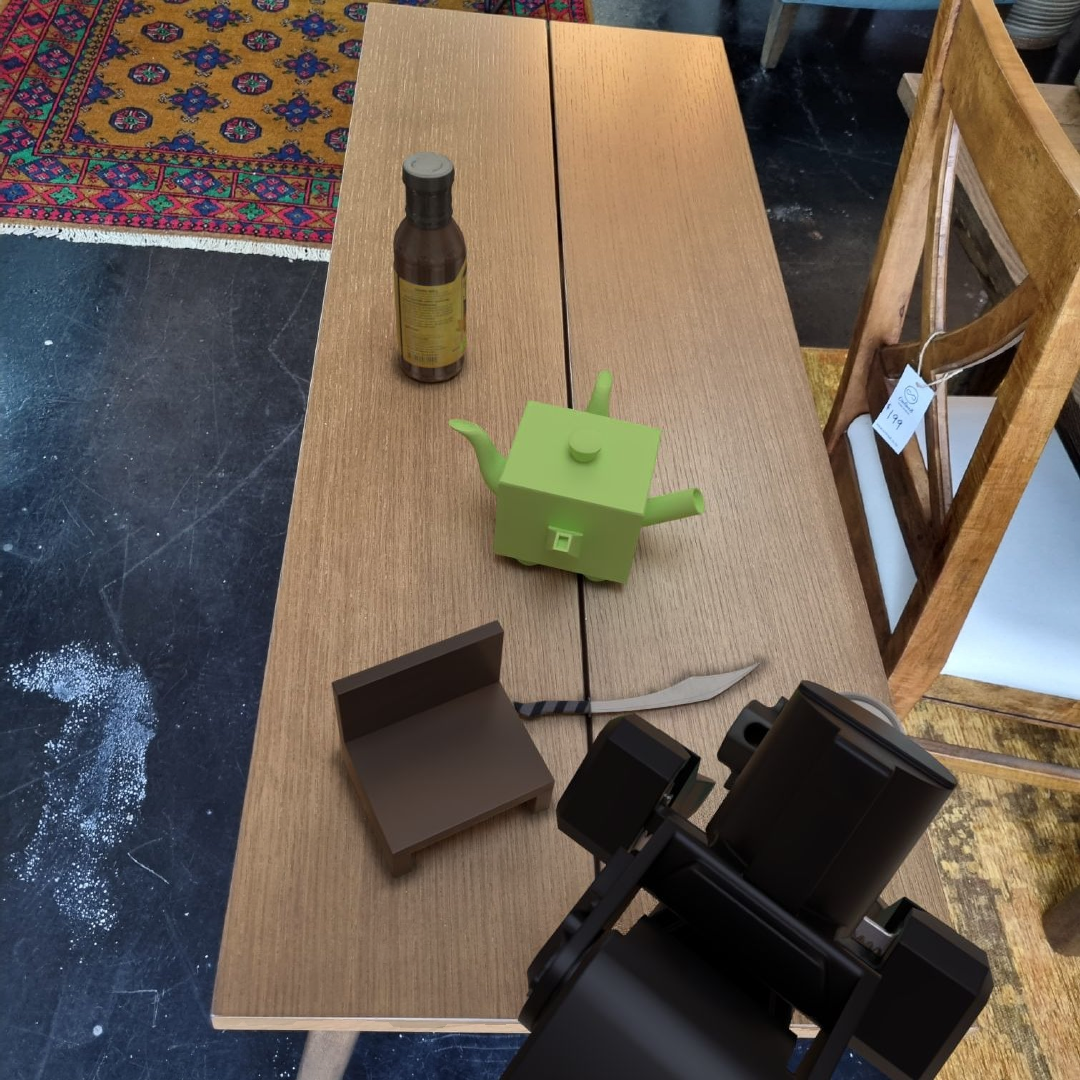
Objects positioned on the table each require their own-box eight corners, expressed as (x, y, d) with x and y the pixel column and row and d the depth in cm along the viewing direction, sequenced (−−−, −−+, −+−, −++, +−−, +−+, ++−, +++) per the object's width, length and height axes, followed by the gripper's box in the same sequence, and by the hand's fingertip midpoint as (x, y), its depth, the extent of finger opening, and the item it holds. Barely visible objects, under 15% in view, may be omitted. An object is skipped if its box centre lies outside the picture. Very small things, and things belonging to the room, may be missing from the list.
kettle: (445, 508, 82) (447, 407, 73) (585, 448, 87) (602, 348, 79) (548, 640, 74) (563, 545, 66) (693, 564, 80) (724, 468, 71)
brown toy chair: (549, 807, 66) (565, 735, 58) (394, 879, 62) (388, 811, 54) (490, 699, 71) (497, 619, 63) (343, 759, 67) (331, 682, 59)
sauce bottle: (477, 373, 92) (486, 177, 77) (417, 394, 90) (414, 196, 74) (443, 333, 96) (445, 137, 80) (385, 352, 93) (375, 154, 78)
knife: (519, 736, 69) (520, 729, 68) (511, 705, 70) (512, 698, 70) (773, 689, 73) (776, 682, 72) (761, 661, 75) (764, 654, 74)
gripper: (1101, 930, 33) (1047, 821, 47) (629, 624, 39) (710, 611, 53) (916, 1189, 34) (919, 1007, 49) (492, 857, 40) (607, 783, 55)
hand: (784, 840), depth 51 cm, fingers open, 9 cm apart
